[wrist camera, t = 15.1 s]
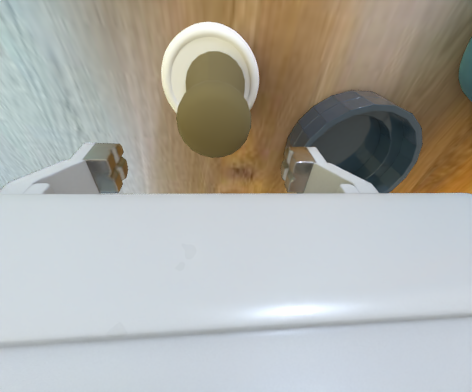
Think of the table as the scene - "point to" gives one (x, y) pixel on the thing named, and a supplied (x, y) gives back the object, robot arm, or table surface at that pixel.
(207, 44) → the coaster
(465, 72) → the casserole dish
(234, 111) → the olive pawn
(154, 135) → the table surface
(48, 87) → the table surface
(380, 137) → the bowl
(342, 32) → the table surface
